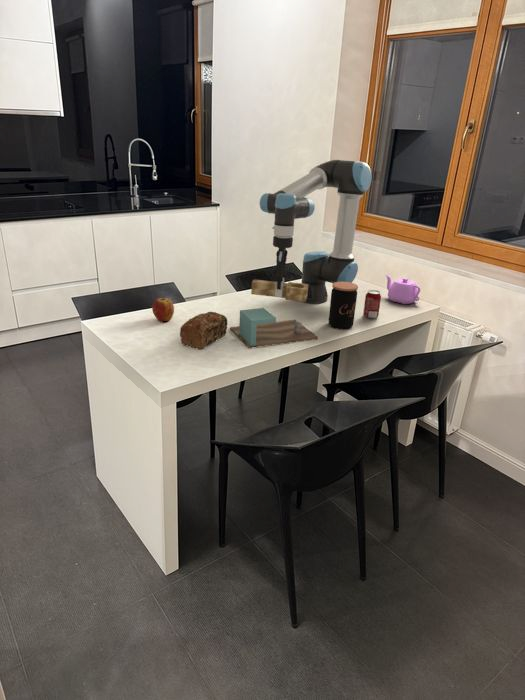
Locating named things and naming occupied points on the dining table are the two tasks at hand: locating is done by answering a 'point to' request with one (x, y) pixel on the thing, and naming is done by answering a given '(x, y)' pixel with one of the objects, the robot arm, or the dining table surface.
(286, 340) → the pintle board
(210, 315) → the bread
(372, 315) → the soda can
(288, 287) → the wooden square socket bar
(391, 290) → the teapot
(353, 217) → the robot arm
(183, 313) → the dining table surface
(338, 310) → the coffee jar
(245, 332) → the block
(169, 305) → the apple
